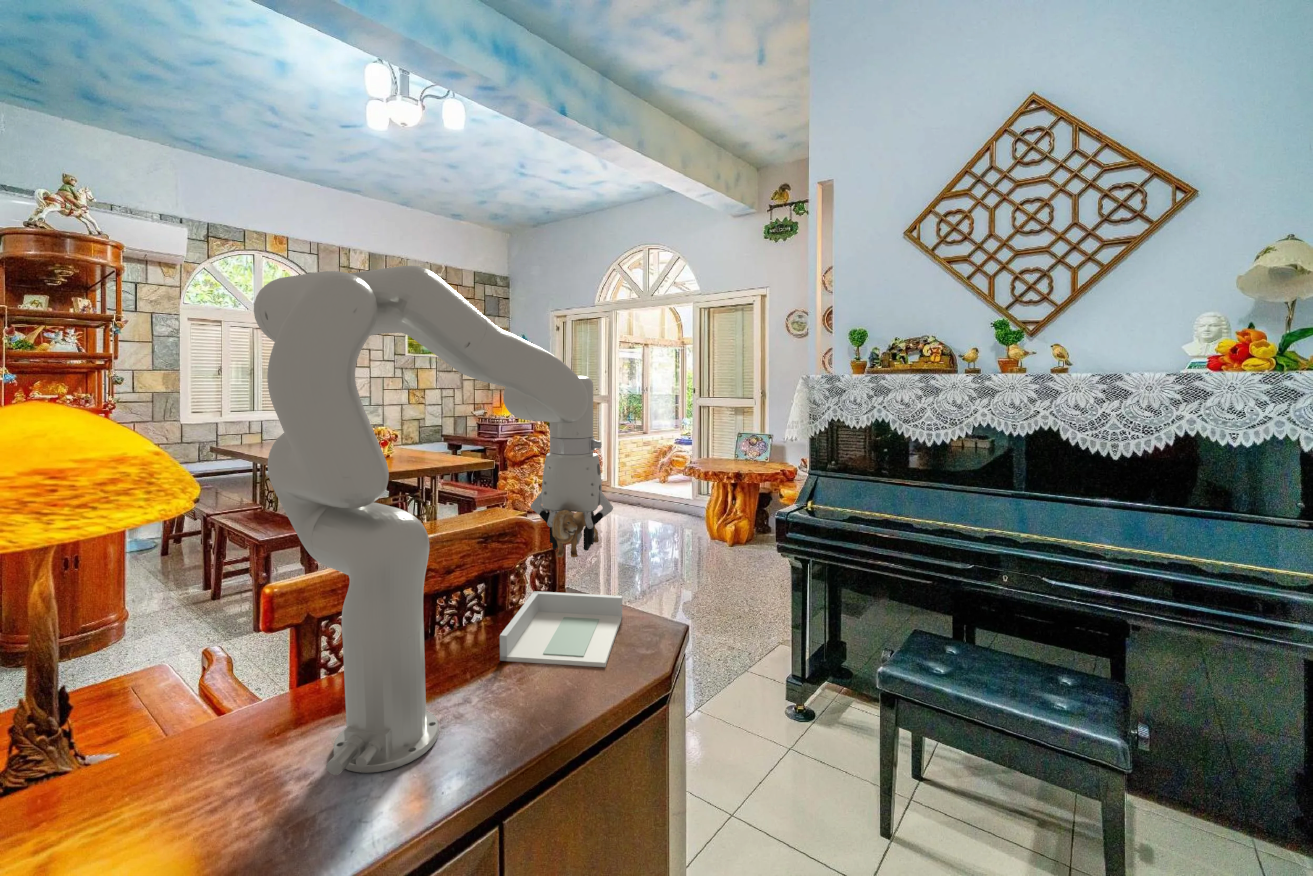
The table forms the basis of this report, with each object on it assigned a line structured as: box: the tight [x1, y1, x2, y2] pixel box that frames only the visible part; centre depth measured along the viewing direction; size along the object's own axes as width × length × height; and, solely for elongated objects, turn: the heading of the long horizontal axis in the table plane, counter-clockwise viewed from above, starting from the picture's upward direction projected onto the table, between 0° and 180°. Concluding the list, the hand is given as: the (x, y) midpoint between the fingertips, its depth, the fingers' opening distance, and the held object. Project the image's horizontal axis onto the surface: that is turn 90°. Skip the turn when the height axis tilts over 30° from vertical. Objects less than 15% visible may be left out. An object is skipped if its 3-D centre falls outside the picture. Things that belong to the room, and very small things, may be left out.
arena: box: [499, 590, 623, 668], centre depth 109 cm, size 20×18×4 cm
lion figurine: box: [552, 510, 600, 558], centre depth 107 cm, size 15×5×9 cm, turn 167°
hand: (571, 546), depth 106 cm, fingers closed on lion figurine, 4 cm apart
